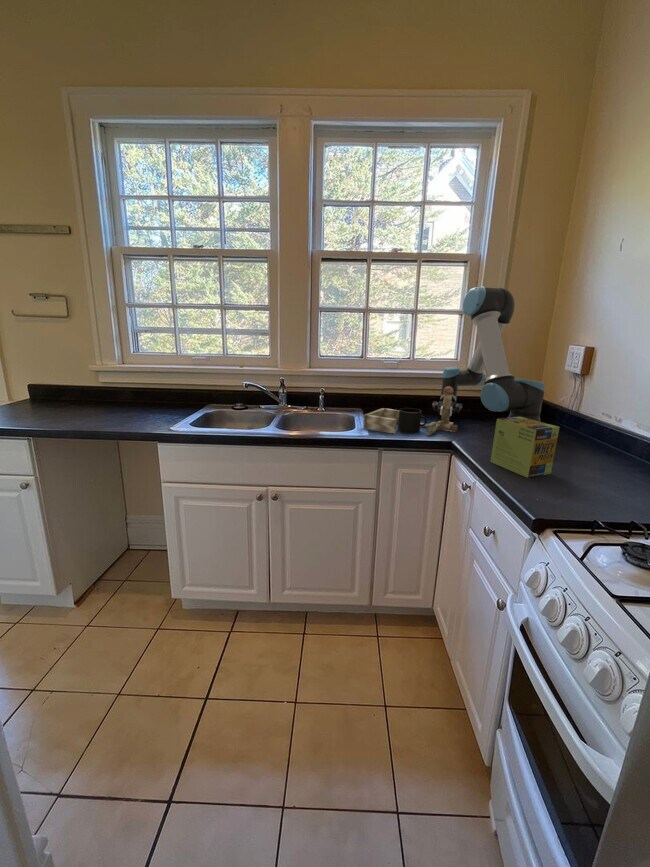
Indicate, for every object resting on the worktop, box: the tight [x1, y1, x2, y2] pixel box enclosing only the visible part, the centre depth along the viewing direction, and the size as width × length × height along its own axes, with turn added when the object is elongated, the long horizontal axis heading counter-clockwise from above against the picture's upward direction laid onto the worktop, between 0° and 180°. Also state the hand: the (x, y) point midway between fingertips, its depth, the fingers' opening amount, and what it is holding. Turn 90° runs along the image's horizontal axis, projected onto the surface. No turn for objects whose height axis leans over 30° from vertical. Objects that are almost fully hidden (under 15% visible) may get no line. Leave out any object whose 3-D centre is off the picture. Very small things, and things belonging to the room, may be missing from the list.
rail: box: [420, 422, 459, 433], centre depth 178 cm, size 26×4×2 cm, turn 57°
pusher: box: [425, 386, 454, 436], centre depth 167 cm, size 6×16×19 cm, turn 147°
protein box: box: [490, 416, 561, 479], centre depth 127 cm, size 10×15×16 cm
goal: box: [362, 407, 399, 435], centre depth 176 cm, size 15×19×6 cm
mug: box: [397, 407, 428, 434], centre depth 170 cm, size 9×12×9 cm
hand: (445, 412), depth 166 cm, fingers closed on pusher, 3 cm apart
